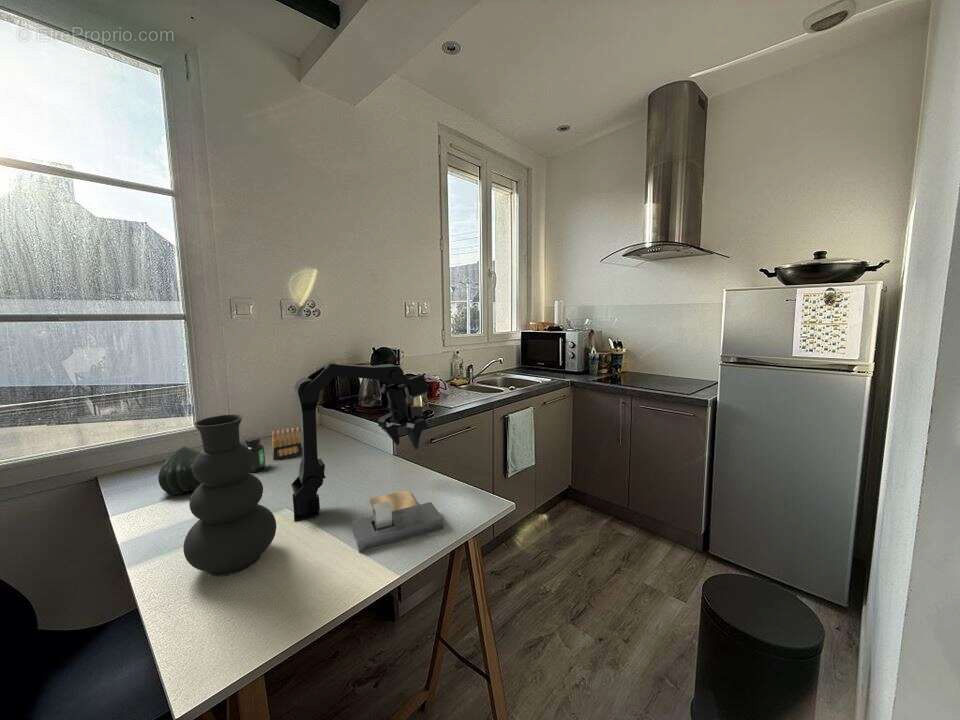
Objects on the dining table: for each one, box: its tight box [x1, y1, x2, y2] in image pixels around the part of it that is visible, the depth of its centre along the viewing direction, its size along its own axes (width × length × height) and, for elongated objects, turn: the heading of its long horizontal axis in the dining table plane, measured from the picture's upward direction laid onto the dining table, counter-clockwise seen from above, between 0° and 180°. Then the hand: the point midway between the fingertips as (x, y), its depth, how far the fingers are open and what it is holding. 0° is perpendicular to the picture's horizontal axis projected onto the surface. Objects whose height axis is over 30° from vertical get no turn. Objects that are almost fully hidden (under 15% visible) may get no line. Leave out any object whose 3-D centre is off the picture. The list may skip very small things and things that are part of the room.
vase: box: [182, 413, 277, 577], centre depth 90 cm, size 18×18×35 cm
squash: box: [157, 445, 201, 495], centre depth 130 cm, size 14×15×15 cm
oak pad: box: [369, 489, 419, 511], centre depth 116 cm, size 12×12×1 cm
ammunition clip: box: [271, 426, 302, 461], centre depth 157 cm, size 11×2×12 cm, turn 124°
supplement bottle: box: [244, 436, 267, 474], centre depth 145 cm, size 7×7×12 cm
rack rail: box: [352, 501, 444, 553], centre depth 104 cm, size 22×10×3 cm, turn 116°
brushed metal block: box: [372, 501, 392, 531], centre depth 102 cm, size 4×4×8 cm
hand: (407, 446), depth 129 cm, fingers open, 9 cm apart
